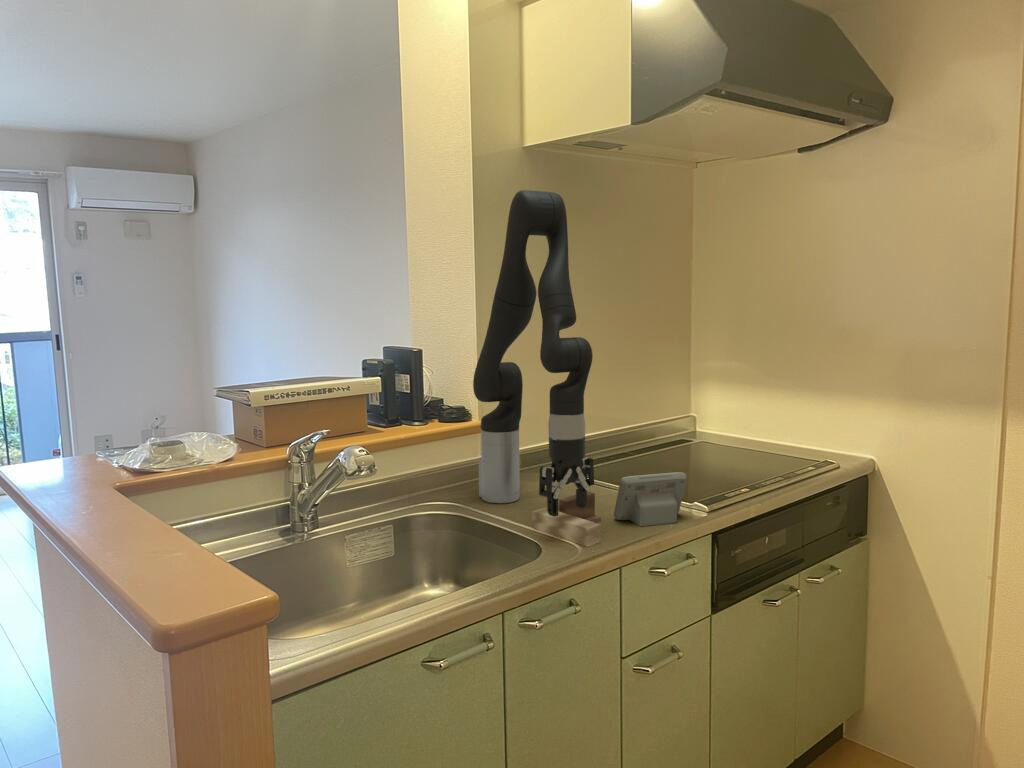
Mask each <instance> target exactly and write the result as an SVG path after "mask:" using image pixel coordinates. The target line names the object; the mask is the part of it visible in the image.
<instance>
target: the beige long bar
mask: <svg viewBox="0 0 1024 768" xmlns="http://www.w3.org/2000/svg"><path fill="white" fill-rule="evenodd" d="M531 512H532V517H531V518H532V521H531V522H532V528H533V529H534V530H538V531H541V532H544V533H547V534H548V535H549V534H550V535H552V536H556V537H558V538H560V539H564V540H567V541H570V542H573V543H576V544H579V545H581V546H584V547H590V546H594V545H597V544H600V543H601V542H602V538H601V536H602V524H600V523H598V522H595V523H594V522H591V521H588V520H585V519H581V518H578V517H575V516H572V515H569V514H565V513H562V512H559V510H558V516H555V517H554V516H551V515H549V514H548V511H547V507H542V508H540V509H536V510H535V509H534V510H532V511H531ZM599 542H600V543H599ZM596 543H597V544H596Z"/></svg>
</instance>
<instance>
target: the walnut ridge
mask: <svg viewBox="0 0 1024 768" xmlns="http://www.w3.org/2000/svg"><path fill="white" fill-rule="evenodd" d="M595 501H596V494H595V492H591V491H588V490H587V503H586V507H584V508H581V507H577V505H576V494H572V495H569V496H566V497H561V498H558V511H559V512H562V513H565V514H569V515H572V516H575V517H578V518H581V519H585V520H588V521H591V522H594V523H598V522H600V521H601V520H602V519H601V518H602V516H599V515H596V514H595V513H596V511H595V510H596V504H595V503H596V502H595Z"/></svg>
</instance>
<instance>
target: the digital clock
mask: <svg viewBox="0 0 1024 768" xmlns="http://www.w3.org/2000/svg"><path fill="white" fill-rule="evenodd" d="M687 478H688V475H687V473H685V472H681V471H680V472H678V471H676V472H675V471H674V472H667V473H666V472H664V473H652V474H642V475H640V474H639V475H629V476H624V477H622V478H621V479H620V481H619V485H618V491H617V496H616V502H615V505H614V506H615V507H614V512H613V517H614V518H615V519H616V520H617V521H627V520H629V521H631V522H633V523H634V524H636V525H637V526H639V527H647V526H657V525H667V524H675V523H677V517H678V515H679V512H680V509H681V505H682V502H683V501H682V500H683V497H684V493H685V489H686V484H687V480H688V479H687Z"/></svg>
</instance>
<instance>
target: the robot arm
mask: <svg viewBox="0 0 1024 768" xmlns="http://www.w3.org/2000/svg"><path fill="white" fill-rule="evenodd" d="M530 236H542V237H543V236H544V237H546V240H547V244H548V256H547V259H546V261H545V262H546V263H545V265H544V267H543V270H542V273H541V275H540V278H539V280H538V281H539V282H538V286H537V287H538V288H537V287H536V284H535V280H534V278H533V275H532V272H531V271H530V268H529V264H528V261H527V256H526V255H527V243H528V241H529V240H528V239H529V237H530ZM568 237H569V236H568V216H567V209H566V204H565V201H564V198H563V197H562V196H561V194H559V193H557V192H553V191H541V190H530V189H529V190H527V189H524V190H523V189H522V190H519V191H518V192H516V193H515V195H514V196H513V198H512V200H511V203H510V207H509V211H508V218H507V226H506V233H505V242H504V251H503V255H502V261H501V266H500V271H499V275H498V279H497V284H496V288H495V291H494V296H493V300H492V306H491V310H490V311H491V312H490V316H489V322H488V326H487V330H486V335H485V338H484V342H483V345H482V348H481V351H480V354H479V357H478V359H477V360H478V361H477V363H476V366H475V370H474V373H473V380H472V384H473V385H472V387H473V389H472V390H473V394H474V396H475V398H476V399H477V400H478V401H479V402H483V403H495V402H498V405H497V406H496V407H495V408H494V409H493V410H492V411H490V412H489V413H487V414H486V415H484V416H483V417H481V419H480V446H481V447H480V448H481V449H480V451H481V453H480V455H481V456H480V458H479V459H478V497H479V498H481V500H482V501H485V502H487V503H491V504H508V503H514V502H516V501H518V500H519V499H520V421H521V418H522V408H523V407H522V405H523V386H524V385H523V383H524V382H523V375H522V371H521V369H520V367H519V365H518V364H517V363H515V362H513V361H512V362H511V361H506V362H505V361H503V362H502V360H503V358H504V355H505V354H506V352H507V351H508V349H509V347H511V345H512V344H513V343H514V342H515V341H516V340H517V339H518V338H519V336H520V335H521V334H522V333H523V332H524V331H525V329H526V328H527V327H528V325H529V324H530V322H531V319H532V317H533V313H534V307H535V303H536V300H537V298H538V303H539V309H540V314H541V321H542V325H541V327H542V329H541V331H542V332H541V340H540V341H541V343H540V350H539V355H540V356H539V358H540V363H541V364H542V366H543V368H544V369H545V370H546V371H547V372H548V373H551V374H552V373H553V374H560V373H563V374H564V373H568V375H567V377H566V379H565V380H564V381H562V382H559V383H556V384H553V385H552V386H551V387H550V389H549V419H548V456H549V457H550V459H551V465H550V466H540V467H539V479H538V480H539V482H538V483H539V485H538V495H539V496H541V497H544V498H546V500H547V503H546V505H547V507H546V508H547V511H548V514H549V515H551V516H554V517H555V516H558V511H559V498H558V497H559V495H560V493H561V492H562V490H563V489H565V486H566V485H569V484H572V483H573V484H574V486H575V488H576V489H575V495H576V505H577V507H581V508H584V507H586V503H587V491H588V490H589V487H591V486H594V484H595V475H594V474H595V473H594V472H595V471H594V470H595V468H594V459H593V458H591V457H587V456H586V420H585V413H584V412H585V398H584V397H585V396H584V395H585V391H586V385H587V382H588V378H589V374H590V370H591V367H592V363H593V348H592V346H591V344H590V342H589V341H588V340H587V339H586V338H585V337H581V336H579V337H578V336H577V337H574V336H573V337H560V331H563V330H565V329H569V328H570V327H572V326H574V325H575V324H576V323H577V313H576V307H575V302H574V297H573V292H572V286H571V280H570V270H569V269H570V268H569V266H570V265H569V263H570V262H569V239H568ZM537 296H538V297H537Z"/></svg>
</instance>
